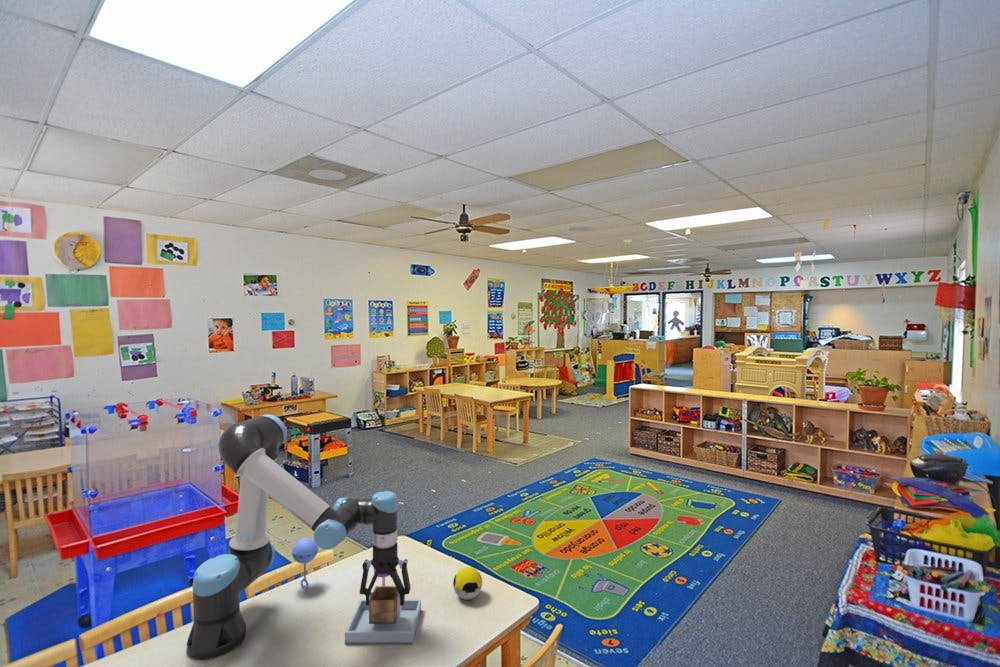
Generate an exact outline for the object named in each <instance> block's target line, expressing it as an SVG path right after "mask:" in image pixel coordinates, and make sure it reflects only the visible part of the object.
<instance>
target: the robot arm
mask: <svg viewBox="0 0 1000 667" xmlns="http://www.w3.org/2000/svg"><path fill="white" fill-rule="evenodd" d="M287 432H288V431H287V428H286V425H285V423H284V422H283V421H282V420H281V419H280V418H279V417H277V416H276V415H273V414H263V415H262V414H261V415H255V416H254V417H252V418H249V419H246V420H243V421H239V422H235V423H233V424H231V425H230V426H228V427H227V428H226V429H225V430H224V431H222V433H221V435H220V438H219V441H218V452H219V456H220V458H221V459H222V461H223V463H224V464H225V465H226V467H228V469H230V470H231V471H232V472H233V473H234V474H236V476H238V477H240V480H239V482H240V483H239V491H238V492H239V494H238V501H237V502H238V503H237V504H238V505H237V513H236V514H237V515H236V523H235V524H236V525H235V535H234V536H232V538H231V539H230V540H229V544H228V553H225V554H219V555H216V556H215V557H212V558H211V557H210V558H209V559H207V560H205V561H203V563H202V564H200V565H199V566H198V567H197V568H196V570H195V572H194V573H193V580H192V581H193V582H192V604H193V623H192V626H191V630H190V632H189V635H188V638H187V640H186V654H187V656H188V657H189V658H191V659H194V660H197V661H199V660H201V661H203V660H212V659H215V658H219V657H222V656H224V655H226V654H228V653H230V652H232V651H233V650H234V649H236V648H238V647H239V646H240V645H241V644H242V643H243V642H244V640H245V639H246V636H247V623H246V622H245V620H244V619H245V618H244V617H243V614H242V612H241V609H240V608H241V607H240V603H241V602H240V600H241V599H240V598H241V597H240V595H241V593H242V592H244V590H246V589H247V588H248V587H250V585H252V584H253V583H254V582H256V581H257V579H259V578H260V577H261V576H263V575H264V574H265V573H266V572H267V571H268V569H269V568H271V566H272V564H273V563H274V559H275V557H276V556H275V555H276V549H275V546H274V544H272V543H273V542H272V540H271V539H270V535H269V534H268V533H266V528H267V527H266V525H267V519H268V517H267V516H268V506H269V497H271V498H272V499H273V500H274V501H275V502H277V504H279V505H281V506H282V507H283V508H285V509H286V510H287V511H288V512H289V513H291V514H292V515H293V516H294V517H295V518H297V519H298V520H299V521H300V522H301V523H303V524H304V525H306V526H307V527H308V528H309V529H311V530H312V531H313V539H314V540H315V542H316V544H317V545H318V548H321V549H322V550H332V549H334V548H335V547H337V546H338V545H339V544H340V543H342V542H344V540H345V539H346V537H347V536H348V535H349V534H350V533H351V532H352V531H353V530H354V529H355V528H356V527H357V526H358V525H365V526H367V525H368V526H369V525H370V526H371V525H372V559H370V560H368V559H367V558H366V559H365V560H364V561H363V562H362V578H361V581H360V587H359V595H360V596H361V595H364V596H365V600H366V606H369V600H370V598H371V596H372V593H373V591H372V590H373V587H374V585H375V583H376V582H377V579H378V578H379V577H378V574H390V575H389V577H390V578H392V581H393V583H394V586H396V588H397V590H398V596H397V618H400V615H401V606H403V605H404V602H405V600H406V598H405V597H406V596H405V595H410V591H411V582H410V578H409V577H410V576H409V571H408V559H407V558H406V559H404V560H402V559H400V558H399V557H398V556H399V554H398V552H399V551H398V539H399V538H398V509H399V507H398V497H397V494H396V493H395V492H393V491H389V490H385V491H378V492H376V493H374V494H373V496H372V498H361V497H360V498H358V497H352V496H351V497H350V496H348V497H340V498H338V499H337V500H336V501H335V503H334V506H333V507H332V506H330V505H329V504H328V503H326V501H324V500H323V499H322V498H320V496H318V495H317V494H315V493H314V492H313V491H311V490H310V489H309V488H308V487H307V486H305V484H303V483H302V482H301V481H299V480H298V479H296V477H294V476H293V475H292V474H291V473H289V472H288V471H287V470H286V469H284V467H282V466H281V465H279V464H278V463H277V462H275V461H277V459H278V458H279V457H278V456H279V448H280V447H281V446H282V445H283V443H284V442H286V438H287V436H288V435H287ZM371 566H372V567H373V569H374V568H375V570H376V571H375V574H373V576H372V578H371V581H370V583H369V585H368V588H367V583H368V578H369V577H368V576H369V571H370V570H369V569H370V568H371ZM397 566H399V567H400V568H399V569H401V575H402V580H401V578H400V576H399V574H398V570H397Z"/></svg>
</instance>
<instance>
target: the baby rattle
mask: <svg viewBox="0 0 1000 667" xmlns="http://www.w3.org/2000/svg"><path fill="white" fill-rule="evenodd" d="M318 553H319V546H318V545H317V544H316V542H315V540H314V538H312V537H303V538H300V539H299V540H298V541H296V542H295V544H294V545H293V547H292V550H291V555H292V557H293V559H294V561H295V562H297V563H299V564H303V578H302V580H301V581H300V586H301V588H304V589H305V590H308V589H309V587H310V586H309V583H308V582H309V581H308V580H307V578H306V577H307V576H306V574H307V572H306V571H307V564H308V563H310V562H312V561H313V560H314V559H315V558H316V556H317V555H318ZM303 583H305V585H304V584H303Z"/></svg>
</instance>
